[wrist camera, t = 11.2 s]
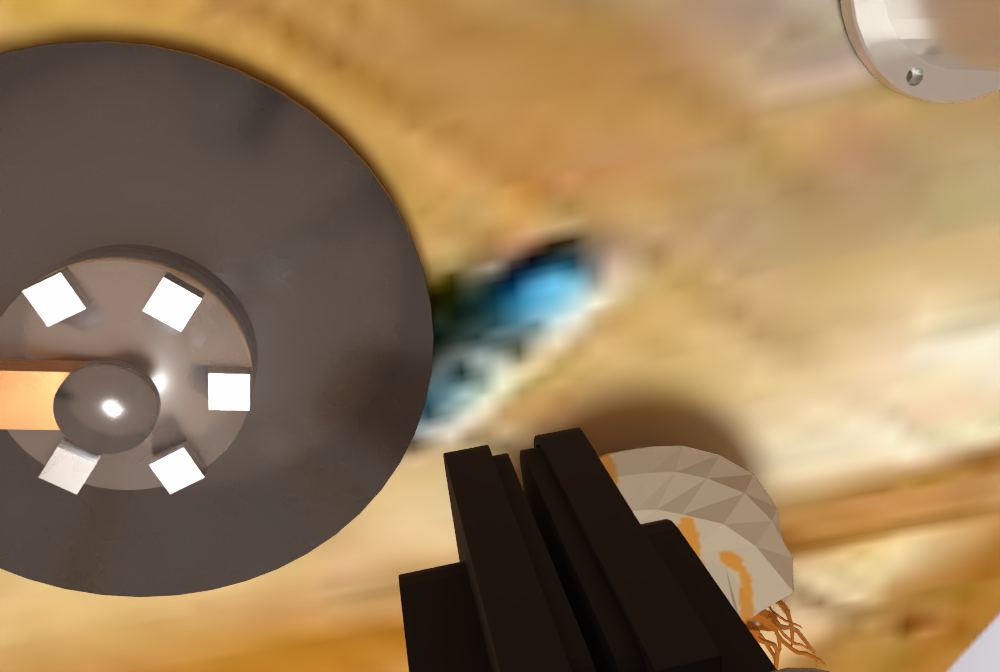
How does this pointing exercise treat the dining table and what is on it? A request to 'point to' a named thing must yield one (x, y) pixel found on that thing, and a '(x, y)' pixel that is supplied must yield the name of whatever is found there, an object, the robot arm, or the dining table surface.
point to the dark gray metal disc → (250, 276)
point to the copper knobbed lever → (126, 369)
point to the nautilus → (717, 527)
